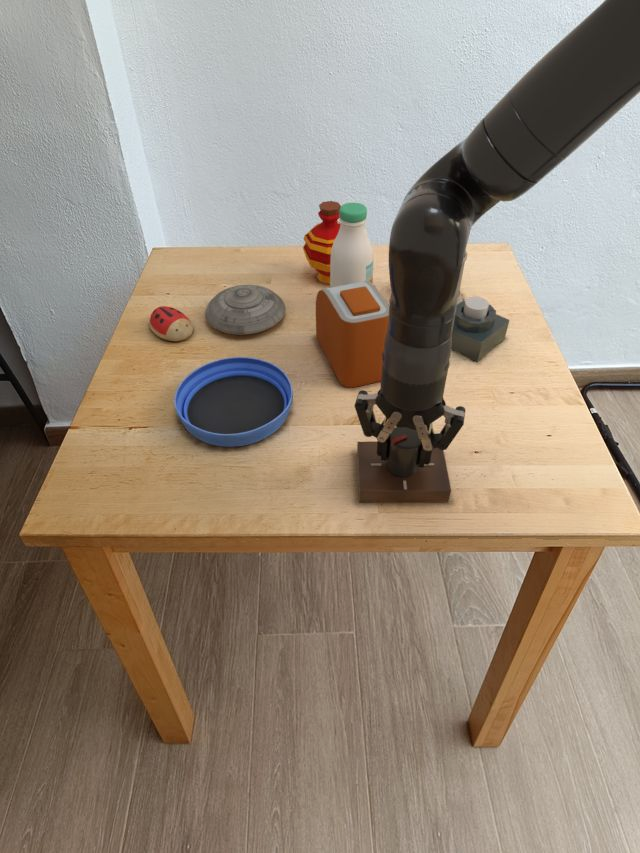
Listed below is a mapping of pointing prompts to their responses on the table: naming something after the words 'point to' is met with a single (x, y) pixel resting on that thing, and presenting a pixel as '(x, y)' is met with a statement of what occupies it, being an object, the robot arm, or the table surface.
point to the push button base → (477, 333)
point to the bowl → (234, 401)
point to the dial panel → (400, 479)
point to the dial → (403, 452)
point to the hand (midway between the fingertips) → (403, 458)
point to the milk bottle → (351, 248)
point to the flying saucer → (245, 310)
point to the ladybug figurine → (170, 324)
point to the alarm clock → (352, 331)
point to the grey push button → (476, 307)
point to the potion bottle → (323, 240)
